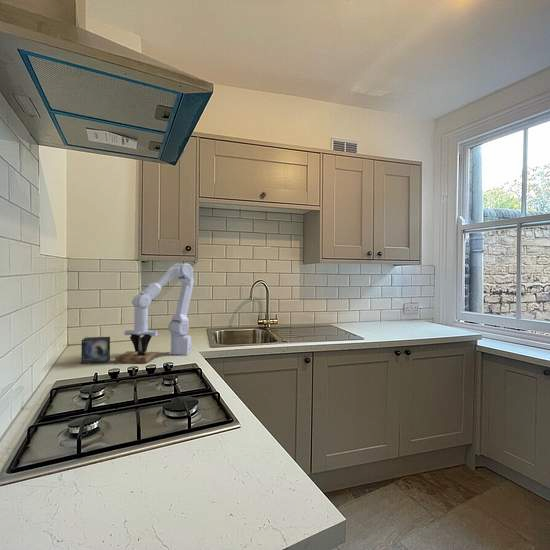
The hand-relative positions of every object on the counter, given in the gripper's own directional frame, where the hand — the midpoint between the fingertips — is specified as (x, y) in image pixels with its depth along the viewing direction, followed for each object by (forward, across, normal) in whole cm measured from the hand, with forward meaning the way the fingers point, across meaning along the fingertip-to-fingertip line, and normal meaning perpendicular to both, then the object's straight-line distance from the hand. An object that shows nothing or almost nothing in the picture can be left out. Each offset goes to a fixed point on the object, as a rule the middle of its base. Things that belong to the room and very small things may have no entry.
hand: (140, 351), depth 157 cm
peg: (+3, 0, 0) cm, 3 cm away
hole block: (+4, -2, 0) cm, 4 cm away
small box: (+4, -18, -5) cm, 19 cm away
